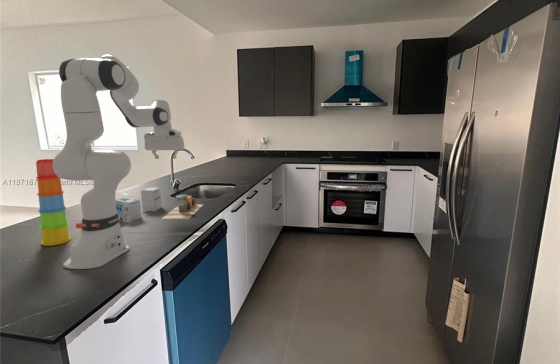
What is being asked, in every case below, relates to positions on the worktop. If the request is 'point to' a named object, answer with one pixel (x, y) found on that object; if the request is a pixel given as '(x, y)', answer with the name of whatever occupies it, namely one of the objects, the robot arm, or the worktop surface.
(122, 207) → the light bulb box
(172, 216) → the winding board
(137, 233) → the worktop surface
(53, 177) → the stacking cups
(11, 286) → the worktop surface
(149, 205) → the supplement box
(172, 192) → the worktop surface
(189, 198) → the tab
